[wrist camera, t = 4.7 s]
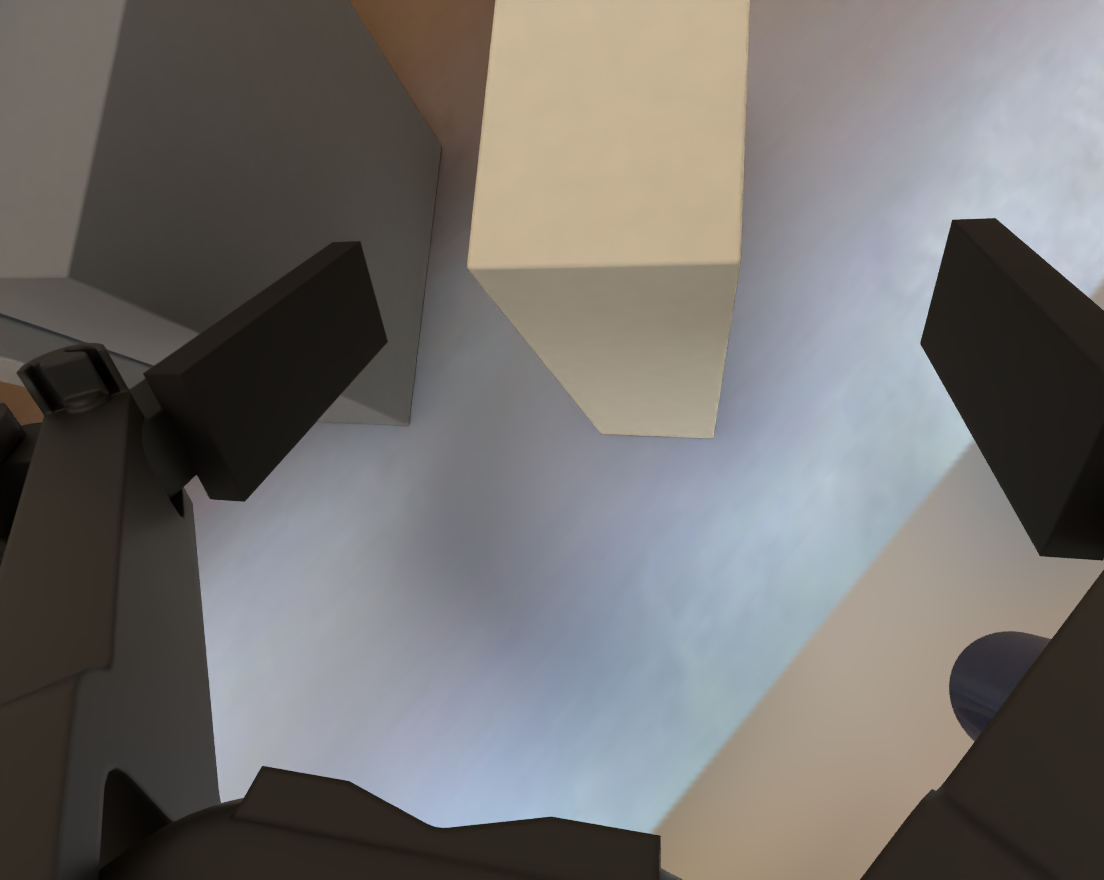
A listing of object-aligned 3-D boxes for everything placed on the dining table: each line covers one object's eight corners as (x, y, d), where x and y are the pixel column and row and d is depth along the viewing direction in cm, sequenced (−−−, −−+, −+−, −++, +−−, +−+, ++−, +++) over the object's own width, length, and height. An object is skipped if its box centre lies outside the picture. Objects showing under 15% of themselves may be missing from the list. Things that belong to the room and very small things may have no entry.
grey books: (442, 146, 27) (140, -334, 12) (409, 425, 25) (7, 251, 10) (84, 171, 31) (-452, -162, 16) (33, 410, 29) (-621, 272, 15)
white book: (726, 127, 24) (765, -419, 10) (713, 439, 22) (740, 263, 9) (621, 134, 25) (532, -359, 11) (600, 434, 23) (464, 268, 10)
